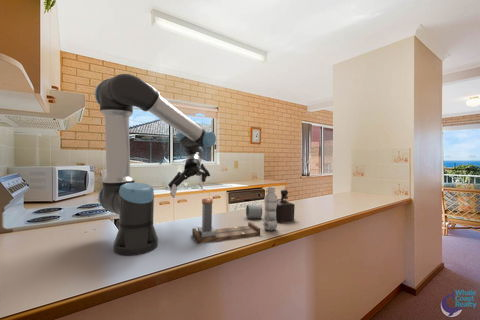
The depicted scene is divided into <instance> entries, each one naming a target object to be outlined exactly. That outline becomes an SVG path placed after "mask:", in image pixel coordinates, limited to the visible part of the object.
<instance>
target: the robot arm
mask: <svg viewBox="0 0 480 320" xmlns="http://www.w3.org/2000/svg"><path fill="white" fill-rule="evenodd" d="M160 94H161V93H160V92H159V90H158V89H156V88H155V87H153V86H152V85H150V84H149V83H148V82H147V81H144V79H141V78H140V77H138V76H135V75H132V74H130V73H129V74H128V73H121V74H117V75H115V76H113V77H111V78H106V79H104V80H102V81H101V82H100V83H99V84H98V85H97V86H96V87H95V91H94V97H95V101H96V102H97V104H98V105H99V112H100V113H101V114H102V115H103V116H104V132H105V134H104V135H105V164H106V177H105V178H104V179H103V180H102V181H101V182H102V185H101V189H100V190H99V192H98V195H97V196H98V203H99V205H100V207H101V208H103V209H104V210H106V211H107V212H109V213H113V214H116V215H118V216H119V218H118V219H119V220H118V221H119V225H118V231H117V234H116V236H115V240H114V242H113V252H114V253H115V254H116V255H120V256H121V255H122V256H136V255H141V254H145V253H149V252H150V251H152V250H155V249H156V248H157V247H158V245H159V239H158V238H159V237H158V235H157V232H156V228H155V226H154V211H155V210H154V206H155V204H154V201H155V192H154V188H153V186H152V185H150V184H147V183H144V182H142V183H141V182H135V178H134V177H132V175H131V152H130V151H131V149H130V117H131V116H132V115H133V114H134V111H133V110H134V109H133V108H134V107H135V108H138V109H140V110H142V111H143V112H149V113H151V114H152V115H154V116H155V117H157V118H158V119H160V120H161V121H163V122H164V123H165V124H167V125H169V126H170V127H171V128H173V129H175V130H177V132H176V134H175V135H176V137H177V140H178V142H179V144H180V145H181V147H182V148H183V149H184V152H185V154H186V155H187V157H186V161H185V164H184V170H183V171H182V172H180V171H178V172H177V174H176V175H175V176H174V177H173V178H172V180H171V181H170V182H169V183H168V187H169V189H170V190H169V191H170V193H169V194H170V195H171V197H172V198H173V199H174V198H175V197H176V194H177V191H178V187H179V186H180V185H181V184H182V183H183V182H184V181H185V180H188V179H189V178H190V177H194V176H197V177H199V180H198V185H199V187H200V189H203V188H204V183H205V182H206V179H207V177H210V176H211V174H210V171H209V170H207V168H206V166H205V165H204V164H203V163H202V159H203V155H204V154H203V153H204V150H203V148H208V147H213V146H214V145H215V143H216V142H217V137H216V134H215V133H214V132H213V131H212V130H211V131H210V130H204V129H203V127H201V126H200V125H198V124H197V123H196V122H195V121H193V120H192V119H190V118H189V117H188V116H187V115H185V113H183V112H182V111H180V110H179V109H177V108H176V107H175V106H174V105H172V104H171V103H170V102H169V101H168V100H166V99H165V98H163V97H162V96H161V95H160Z"/></svg>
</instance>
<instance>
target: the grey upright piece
mask: <svg viewBox="0 0 480 320" xmlns="http://www.w3.org/2000/svg"><path fill="white" fill-rule="evenodd" d="M213 202H214V201H213V198H209V197H208V198H201V204H202V212H201V213H202V214H201V215H202V216H201V217H202V218H201V227H199V226H198V227H197V231H198V233H199V234H200V235H201V237H202V238H203V237H210V236H216V230H215V228H214V227H213V225H212V224H213V222H212V221H213Z"/></svg>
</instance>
